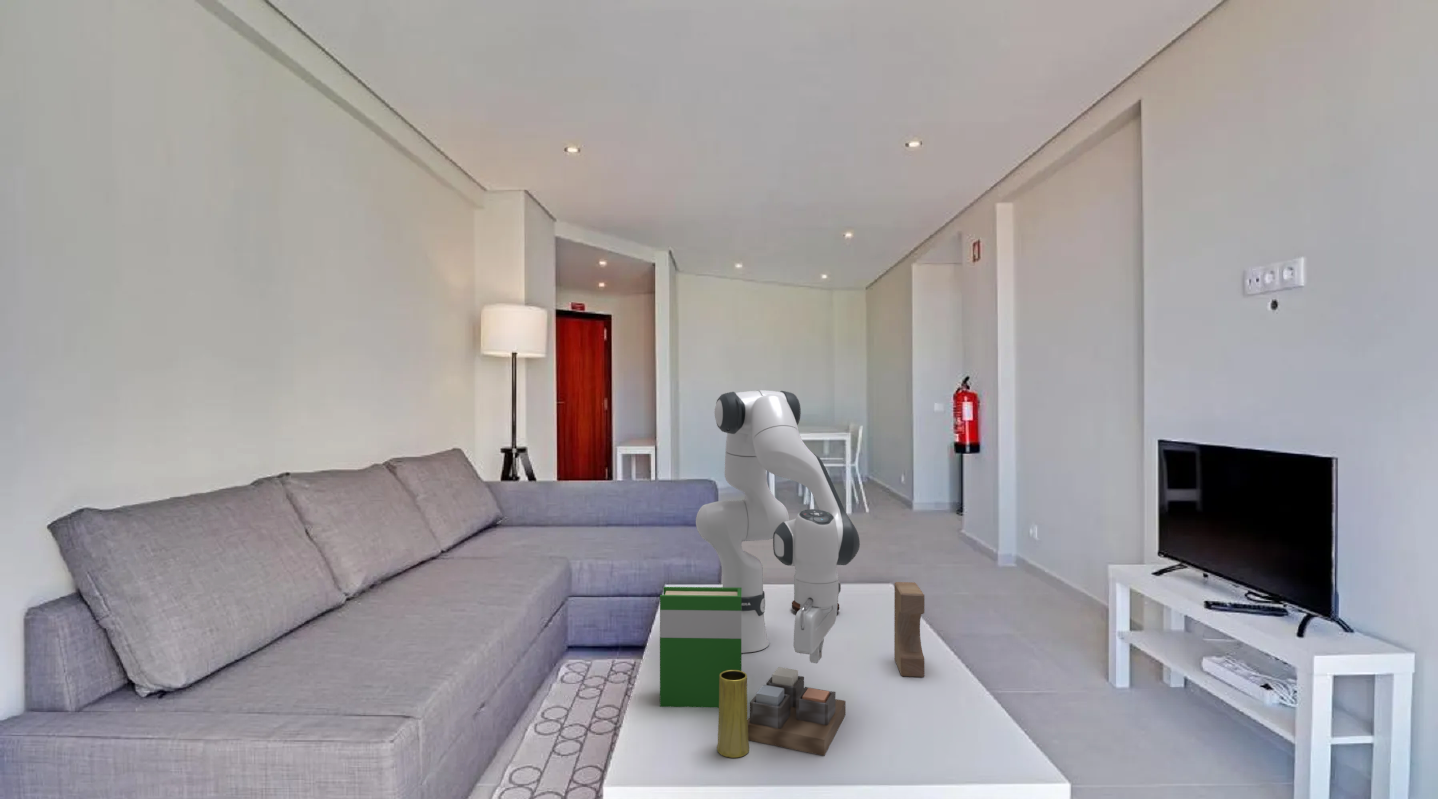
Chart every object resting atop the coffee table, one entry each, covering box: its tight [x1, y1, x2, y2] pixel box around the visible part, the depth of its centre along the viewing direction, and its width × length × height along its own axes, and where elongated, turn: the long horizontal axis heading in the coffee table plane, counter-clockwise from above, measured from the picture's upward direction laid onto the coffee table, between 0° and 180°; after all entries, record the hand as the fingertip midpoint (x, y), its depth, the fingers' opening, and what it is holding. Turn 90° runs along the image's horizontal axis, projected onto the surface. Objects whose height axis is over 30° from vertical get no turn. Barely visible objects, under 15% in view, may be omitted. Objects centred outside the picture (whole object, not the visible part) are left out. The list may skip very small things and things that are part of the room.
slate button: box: [755, 684, 784, 706], centre depth 137 cm, size 4×4×3 cm
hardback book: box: [659, 586, 742, 709], centre depth 152 cm, size 18×7×24 cm, turn 88°
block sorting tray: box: [747, 675, 847, 757], centre depth 140 cm, size 16×18×7 cm
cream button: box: [771, 666, 799, 687], centre depth 146 cm, size 4×4×3 cm
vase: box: [716, 670, 750, 759], centre depth 131 cm, size 6×6×14 cm
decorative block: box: [893, 581, 925, 678], centre depth 170 cm, size 11×6×20 cm, turn 173°
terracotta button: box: [802, 687, 830, 703], centre depth 138 cm, size 4×4×3 cm
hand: (815, 660), depth 139 cm, fingers closed
